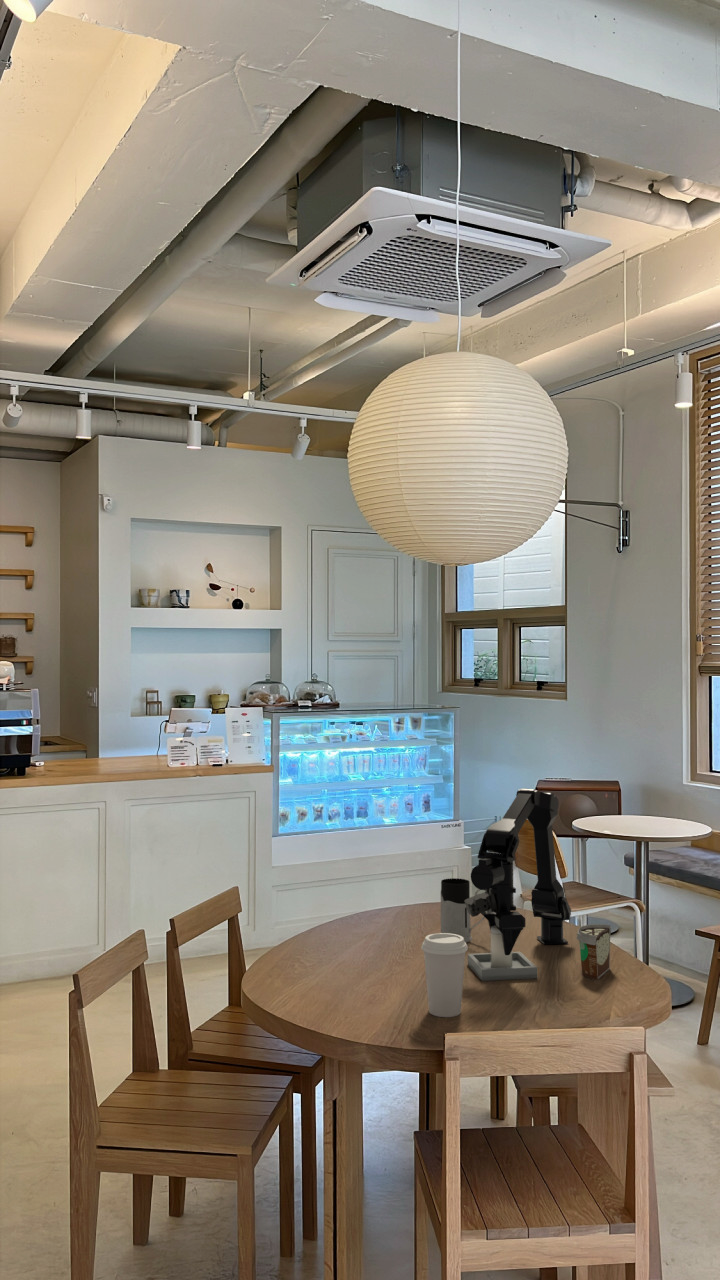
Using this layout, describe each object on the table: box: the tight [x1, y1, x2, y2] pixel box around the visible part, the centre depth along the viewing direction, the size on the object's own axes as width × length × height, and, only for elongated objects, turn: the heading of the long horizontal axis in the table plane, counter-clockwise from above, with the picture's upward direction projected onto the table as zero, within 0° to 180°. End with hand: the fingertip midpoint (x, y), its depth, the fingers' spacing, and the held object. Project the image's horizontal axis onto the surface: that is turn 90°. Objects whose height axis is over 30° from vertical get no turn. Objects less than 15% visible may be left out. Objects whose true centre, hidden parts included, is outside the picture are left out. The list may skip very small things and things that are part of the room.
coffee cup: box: [421, 932, 469, 1018], centre depth 200 cm, size 10×10×15 cm
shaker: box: [490, 925, 513, 968], centre depth 227 cm, size 5×5×9 cm
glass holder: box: [440, 878, 486, 943], centre depth 255 cm, size 9×14×15 cm, turn 64°
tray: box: [467, 951, 538, 982], centre depth 227 cm, size 13×13×2 cm
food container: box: [576, 923, 612, 980], centre depth 227 cm, size 12×6×10 cm, turn 149°
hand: (501, 949), depth 227 cm, fingers open, 9 cm apart
